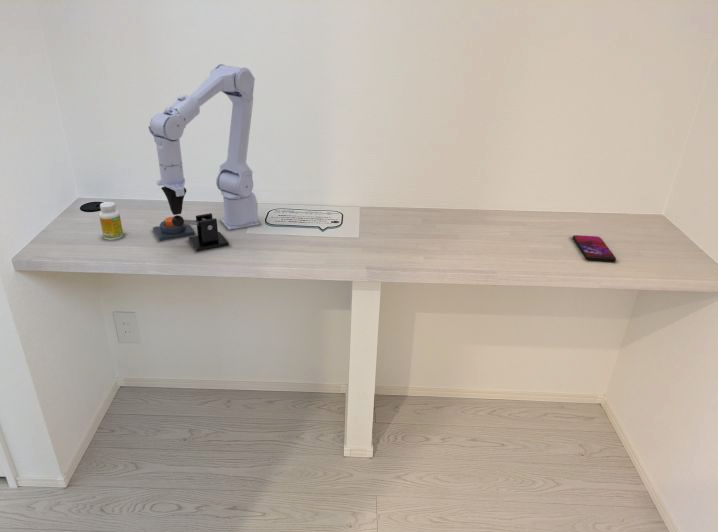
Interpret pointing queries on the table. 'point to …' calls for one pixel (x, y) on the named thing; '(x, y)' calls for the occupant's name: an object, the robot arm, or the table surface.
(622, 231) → the table surface
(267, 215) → the table surface
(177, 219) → the switch lever
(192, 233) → the button box
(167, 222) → the button
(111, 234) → the supplement bottle
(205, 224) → the switch bracket
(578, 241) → the smartphone
